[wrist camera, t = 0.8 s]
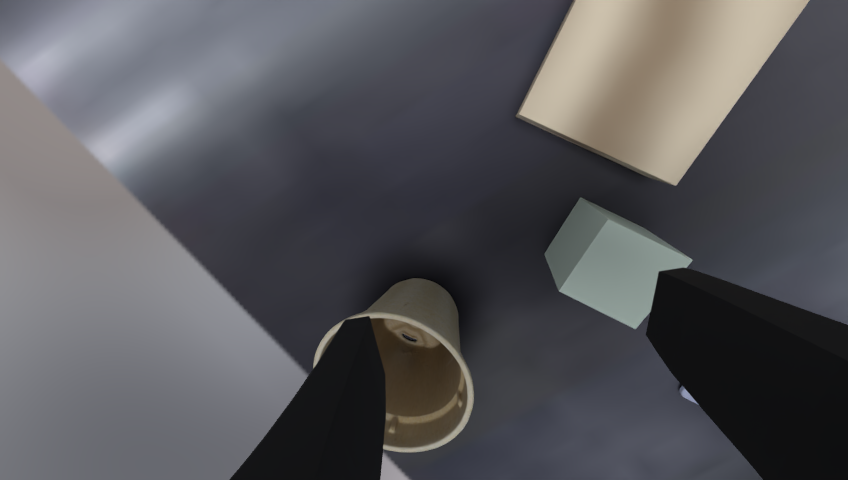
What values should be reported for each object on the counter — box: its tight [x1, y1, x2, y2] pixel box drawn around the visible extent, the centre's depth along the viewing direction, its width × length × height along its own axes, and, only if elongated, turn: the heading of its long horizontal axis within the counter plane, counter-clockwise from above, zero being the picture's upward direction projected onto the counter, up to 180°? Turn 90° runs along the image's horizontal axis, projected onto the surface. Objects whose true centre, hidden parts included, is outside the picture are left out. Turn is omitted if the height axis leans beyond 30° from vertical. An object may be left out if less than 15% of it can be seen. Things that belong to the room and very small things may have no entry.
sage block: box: [544, 197, 693, 329], centre depth 20 cm, size 4×4×6 cm
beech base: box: [515, 0, 809, 186], centre depth 18 cm, size 9×9×4 cm
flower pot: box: [313, 278, 474, 452], centre depth 23 cm, size 9×9×9 cm
